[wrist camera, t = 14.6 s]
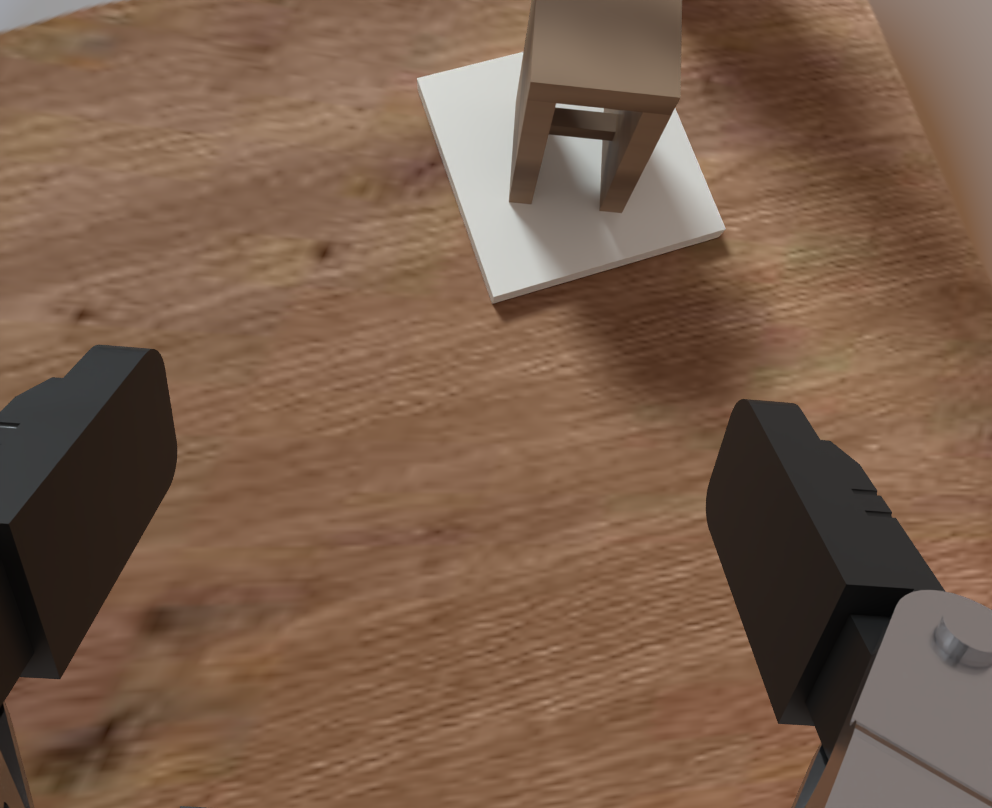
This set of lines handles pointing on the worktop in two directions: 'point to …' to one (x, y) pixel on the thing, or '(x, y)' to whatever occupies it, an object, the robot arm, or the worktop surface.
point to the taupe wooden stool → (597, 87)
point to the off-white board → (555, 188)
